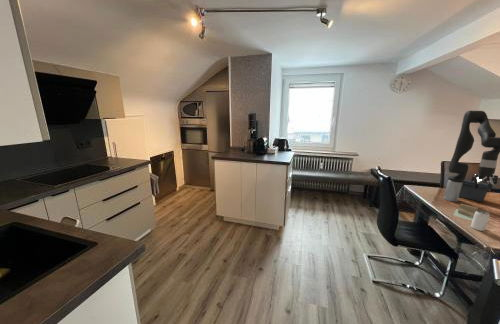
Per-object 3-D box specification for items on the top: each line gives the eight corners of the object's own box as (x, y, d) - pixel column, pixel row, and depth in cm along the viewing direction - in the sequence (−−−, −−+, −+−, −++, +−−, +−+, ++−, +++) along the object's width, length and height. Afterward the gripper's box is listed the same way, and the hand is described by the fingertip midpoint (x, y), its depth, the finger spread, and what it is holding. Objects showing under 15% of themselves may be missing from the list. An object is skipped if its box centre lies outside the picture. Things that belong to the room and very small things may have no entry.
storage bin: (451, 196, 187) (455, 181, 184) (454, 191, 197) (458, 177, 193) (486, 204, 171) (491, 188, 168) (487, 199, 181) (492, 184, 177)
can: (471, 228, 135) (476, 212, 132) (469, 224, 140) (474, 208, 137) (485, 232, 131) (491, 215, 128) (483, 228, 136) (489, 211, 133)
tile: (458, 211, 157) (460, 203, 155) (475, 216, 150) (477, 207, 148) (457, 212, 155) (460, 204, 154) (474, 217, 149) (477, 208, 147)
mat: (456, 209, 162) (456, 208, 161) (478, 215, 153) (478, 214, 152) (453, 216, 152) (453, 215, 151) (476, 222, 143) (477, 222, 143)
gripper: (492, 166, 145) (487, 188, 147) (471, 164, 146) (466, 187, 149) (505, 168, 137) (499, 191, 140) (481, 166, 139) (476, 190, 141)
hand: (482, 189), depth 144 cm, fingers open, 8 cm apart
